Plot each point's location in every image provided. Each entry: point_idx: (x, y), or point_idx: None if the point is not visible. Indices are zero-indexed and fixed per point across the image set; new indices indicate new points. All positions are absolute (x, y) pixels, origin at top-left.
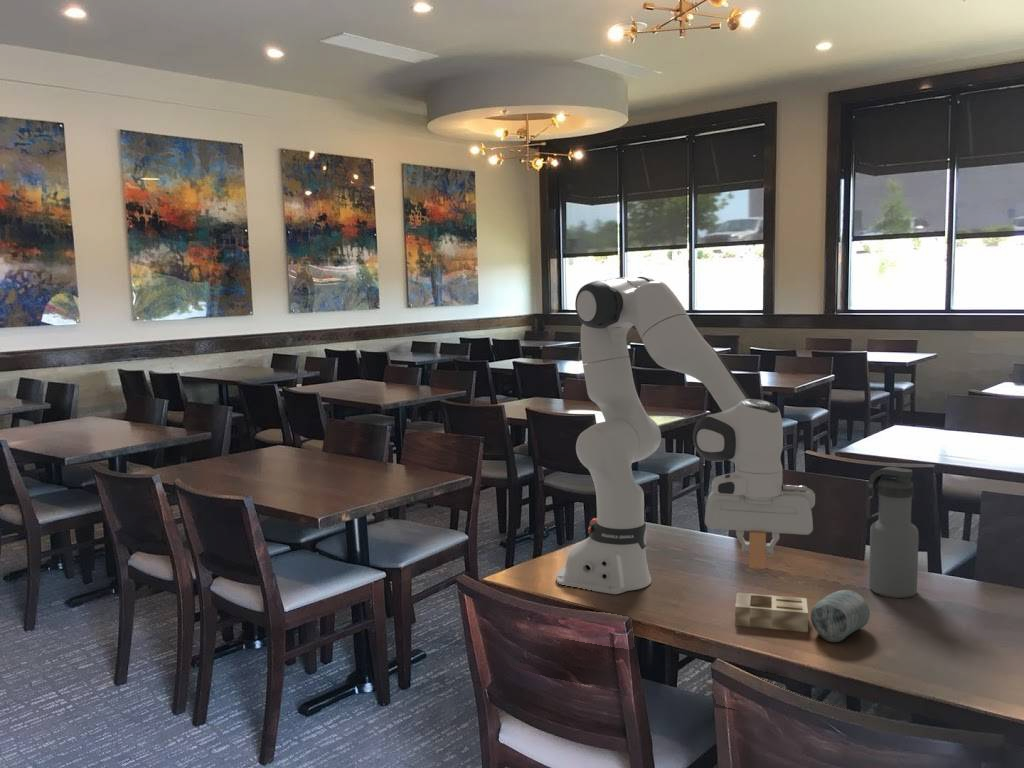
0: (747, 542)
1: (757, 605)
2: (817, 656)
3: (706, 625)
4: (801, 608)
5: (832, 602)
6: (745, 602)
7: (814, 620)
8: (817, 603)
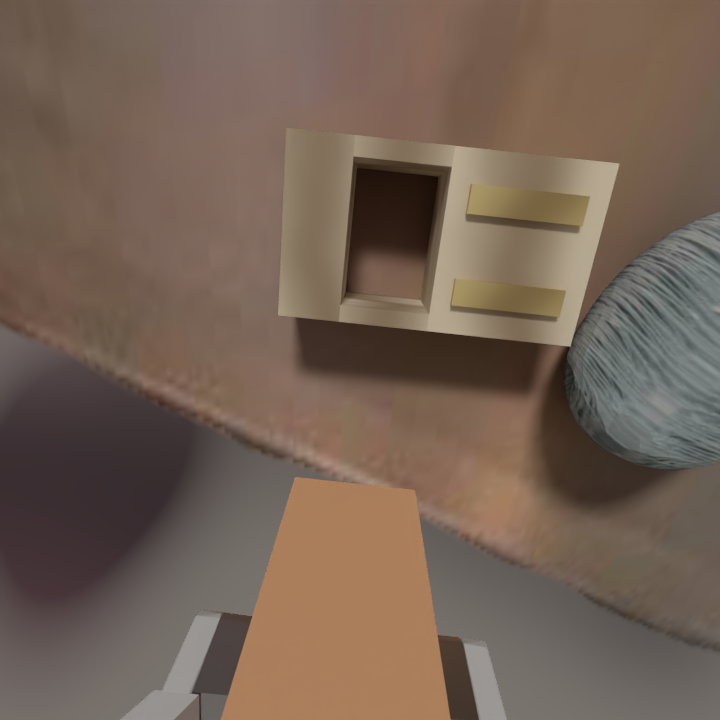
0: (221, 716)
1: (384, 165)
2: (518, 490)
3: (195, 314)
4: (554, 317)
5: (693, 447)
6: (322, 263)
7: (572, 411)
8: (627, 398)
